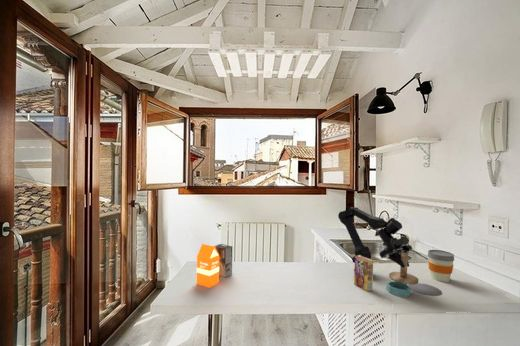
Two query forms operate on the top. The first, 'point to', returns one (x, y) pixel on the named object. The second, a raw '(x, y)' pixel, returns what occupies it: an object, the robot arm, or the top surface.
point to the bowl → (398, 288)
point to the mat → (425, 289)
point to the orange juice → (207, 266)
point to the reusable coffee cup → (440, 265)
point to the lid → (403, 273)
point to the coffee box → (224, 259)
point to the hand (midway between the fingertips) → (406, 266)
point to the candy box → (363, 272)
